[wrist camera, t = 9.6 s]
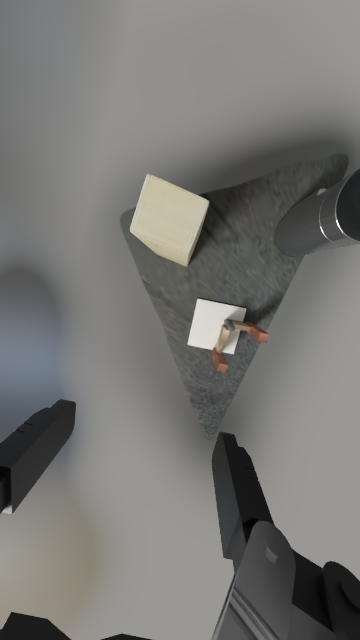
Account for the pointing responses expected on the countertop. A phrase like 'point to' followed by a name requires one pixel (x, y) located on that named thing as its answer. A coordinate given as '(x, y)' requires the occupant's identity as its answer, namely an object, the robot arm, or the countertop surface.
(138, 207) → the upright wooden block
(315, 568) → the robot arm
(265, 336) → the brown piece
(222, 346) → the toy gate half
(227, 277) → the countertop surface
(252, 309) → the countertop surface
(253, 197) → the countertop surface
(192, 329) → the card
